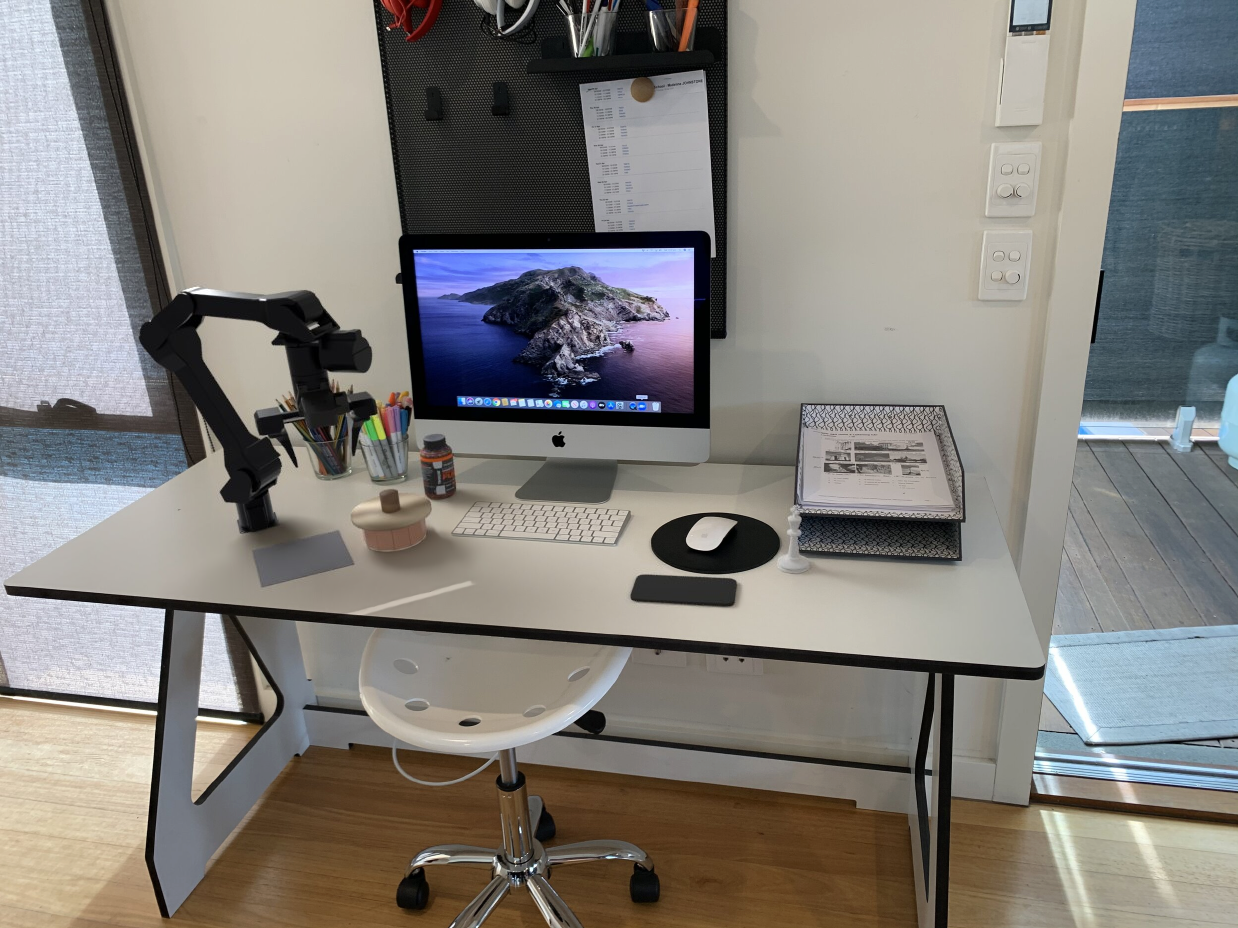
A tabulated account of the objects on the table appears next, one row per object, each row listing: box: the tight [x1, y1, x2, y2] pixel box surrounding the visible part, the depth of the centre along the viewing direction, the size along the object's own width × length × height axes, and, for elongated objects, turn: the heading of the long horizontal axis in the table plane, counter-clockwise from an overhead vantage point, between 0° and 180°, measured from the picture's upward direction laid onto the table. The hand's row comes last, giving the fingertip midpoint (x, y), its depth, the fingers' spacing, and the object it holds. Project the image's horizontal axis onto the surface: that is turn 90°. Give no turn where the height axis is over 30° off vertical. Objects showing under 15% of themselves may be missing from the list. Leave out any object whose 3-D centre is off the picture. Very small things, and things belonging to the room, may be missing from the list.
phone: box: [629, 574, 738, 608], centre depth 131 cm, size 7×1×15 cm
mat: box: [251, 529, 355, 588], centre depth 145 cm, size 14×14×1 cm
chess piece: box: [776, 504, 811, 574], centre depth 134 cm, size 5×5×10 cm
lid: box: [350, 488, 433, 531], centre depth 148 cm, size 13×13×4 cm
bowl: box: [361, 518, 428, 553], centre depth 149 cm, size 10×10×5 cm
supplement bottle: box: [419, 433, 457, 500], centre depth 165 cm, size 6×6×11 cm
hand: (325, 461), depth 150 cm, fingers open, 9 cm apart
